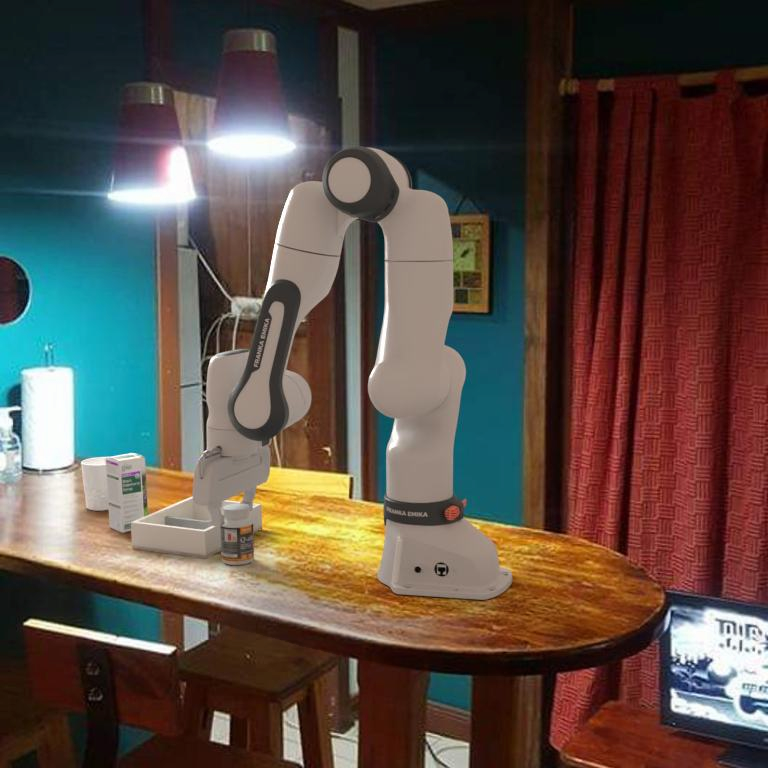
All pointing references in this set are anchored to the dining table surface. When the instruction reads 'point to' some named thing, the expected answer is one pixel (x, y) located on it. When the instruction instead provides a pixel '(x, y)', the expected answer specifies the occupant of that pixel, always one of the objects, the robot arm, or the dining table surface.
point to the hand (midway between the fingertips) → (232, 518)
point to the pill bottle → (237, 535)
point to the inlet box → (184, 529)
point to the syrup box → (126, 490)
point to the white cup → (95, 483)
